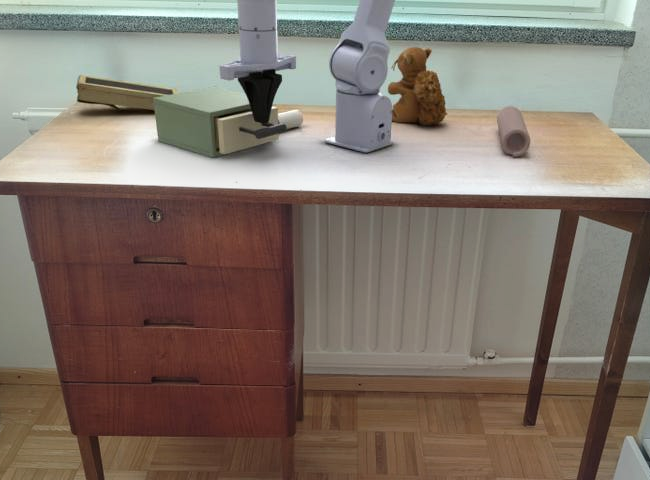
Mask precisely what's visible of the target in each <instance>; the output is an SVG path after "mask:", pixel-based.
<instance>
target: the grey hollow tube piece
mask: <svg viewBox="0 0 650 480" xmlns="http://www.w3.org/2000/svg"><path fill="white" fill-rule="evenodd" d="M496 124H497V129H498V133H499V138H500V143H501V147H502V150H503V151H504V152H505V153H506V154H507V155H510V156H512V157H513V158H517V157H518V158H519V157H521V156H523V155H525V154H526V153H527V152H528V151H529V148H530V146H531V137H530V134H529V131H528V129H527V125H526V122H525V120H524V117H523V113H522V112H521V110H520V109H519V108H517V107H516V106H512V105H509V106H505V107H503V108H501V110H500V111H499V112H498V114H497V116H496Z"/></svg>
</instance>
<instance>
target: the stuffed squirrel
mask: <svg viewBox="0 0 650 480" xmlns="http://www.w3.org/2000/svg"><path fill="white" fill-rule="evenodd" d="M432 52H433V50H432V49H431V48H430V47H429V48H425V49H423V48H421V47H418V46H410V47H408V48H406V49H405V50H403V51H402V52H401V53H400V54H399V55H398V57H397V59H396V60H395V61H394V62H393V64H392V65H391V69H392V71H393V72H395V67H396V66H397V68H398V70H399V71H400V73H401V76H402V77H401V79H400V80H399V81H393V82H392V81H391V82H390V83H389V84H388V86H387V93H388V95H391V96H396V95H400V97H399V99H398V101H397V102H396V103H394V104H392V122H396V123H404V124H407V123H408V124H415V123H418V124H419V125H421V126H427V127H428V126H432V125H433V126H434V125H439V124H440V123H441V122H443V121H444V119H445V117H446V116H447V115H448V114H449V113H447V111H446V110H447V109H446V99H445V95H444V94H443V92H442V91H443V89H442V88H441V82H440V80H439V76H438V73H437V72H435V71H433V70H429V69H427V60H428V59H429V58H430V56H431V54H432Z"/></svg>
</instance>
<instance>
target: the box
mask: <svg viewBox="0 0 650 480" xmlns="http://www.w3.org/2000/svg"><path fill="white" fill-rule="evenodd" d="M75 88H76V91H77V92H76V93H77V97H76V102H77V103H81V104H86V105H87V104H89V105H102V106H103V105H104V106H107V107H110V108H113V109H115V110H117V111H119V112H122V110H121V109H120V107H127V108H135V109H142V110H150V111H155V110H154V101H153V98H156V97H161V96H166V95H172V94H177V93H180V91H179V89H178V88H173V87H167V86H166V87H165V86H160V85H153V84H152V85H151V84H146V83H139V82H132V81H126V80H118V79H112V78H103V77H98V76H90V75H85V74H84V75H83V74H79V75H78V77H77V81H76V86H75ZM118 106H120V107H118Z"/></svg>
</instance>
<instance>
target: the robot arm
mask: <svg viewBox="0 0 650 480" xmlns="http://www.w3.org/2000/svg"><path fill="white" fill-rule="evenodd" d="M395 2H396V0H359V1H358V4H357V7H356V11H355V14H354V17H353V21H352V23H351V24H350V25H349V26H348V27H347V28H346V29H345V30H344V31H343V32H342V33H341V36H340V39H339V41H338V44H337V45H336V46H335V48H334V49H333V50H332V52H331V54H330V56H329V60H328V69H329V73H330V74H331V76H332V78H333V79H334V80H335V122H334V123H335V124H334V125H335V127H334V128H335V129H334V131H335V132H334V133H335V134H334V136H332V137H328V138H325V139H324V143H327V144H331V145H334V146H338V147H341V148H346V149H350V150H354V151H357V152H361V153H365V154H367V153H370V152H374V151H376V150H379V149H382V148H386V147H388V146H391V145H394V141H393V140H391V139H392V123H393V121H392V110H393V104H392V101H391V99H390V97H388V96H386V95H384V94H382V93H381V92H380V90H381V87H383V85H384V84H385V82H386V80H387V77H388V73H389V72H388V71H389V68H388V67H389V66H388V61H389V60H388V59H389V54H390V51H391V47H390V45H389V42H388V39H387V37H386V31H387V29H388V25H389V21H390V19H391V14H392V11H393V8H394V6H395ZM277 9H278V8H277V0H237V19H238V38H239V56H238V57H237V59H236V60H233V61H230V62H227V63H224V64H220V65H219V66H218V67H219V78H220V79H221V80H225V81H228V82H229V81H234V80H235V79H237V82H238V83H239V85H240V87H241V88H242V90H243V93H245V94H246V96H247V99H248V101H249V104H250V107H251V110H252V114H253V118H254V121H255V122H259V123H267V122H269V118H270V113H271V109H272V107H273V104H274V101H275V97H276V95H277V93H278V91H279V88H280V86H281V84H282V82H283V75H282V74H280V73H277V72H279V71H283V70H296V69H297V55H292V54H279V53H278V49H279V48H278V47H279V46H278V14H277V13H278V11H277Z"/></svg>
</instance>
